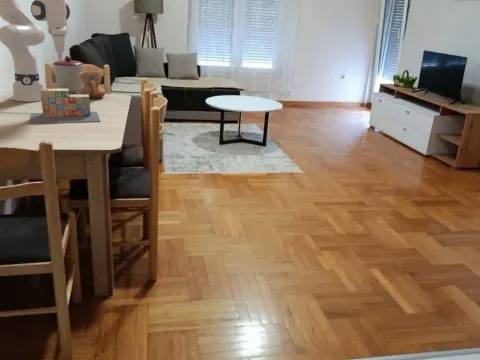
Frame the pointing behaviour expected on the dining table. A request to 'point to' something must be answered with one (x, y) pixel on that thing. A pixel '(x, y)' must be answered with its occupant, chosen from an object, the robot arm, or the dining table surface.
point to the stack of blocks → (64, 103)
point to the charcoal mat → (63, 119)
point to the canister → (68, 74)
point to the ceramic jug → (91, 84)
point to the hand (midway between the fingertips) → (60, 60)
